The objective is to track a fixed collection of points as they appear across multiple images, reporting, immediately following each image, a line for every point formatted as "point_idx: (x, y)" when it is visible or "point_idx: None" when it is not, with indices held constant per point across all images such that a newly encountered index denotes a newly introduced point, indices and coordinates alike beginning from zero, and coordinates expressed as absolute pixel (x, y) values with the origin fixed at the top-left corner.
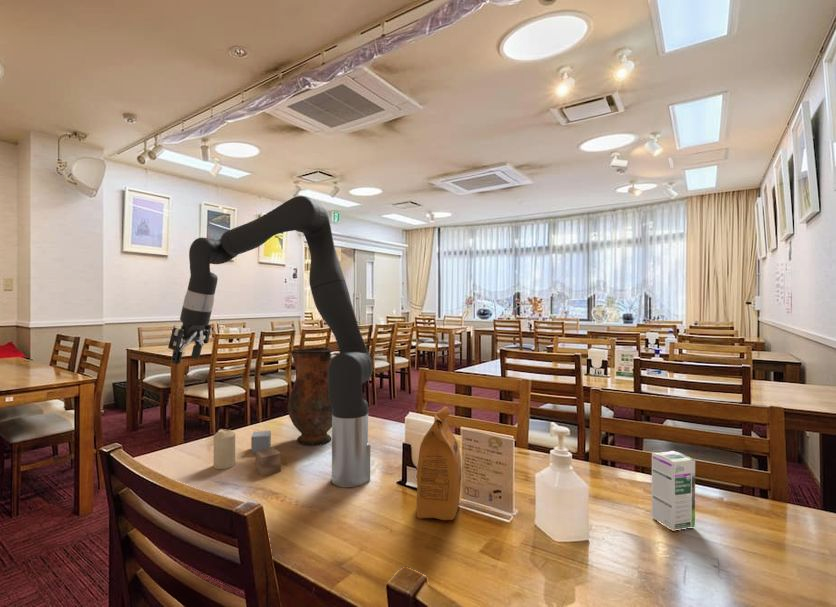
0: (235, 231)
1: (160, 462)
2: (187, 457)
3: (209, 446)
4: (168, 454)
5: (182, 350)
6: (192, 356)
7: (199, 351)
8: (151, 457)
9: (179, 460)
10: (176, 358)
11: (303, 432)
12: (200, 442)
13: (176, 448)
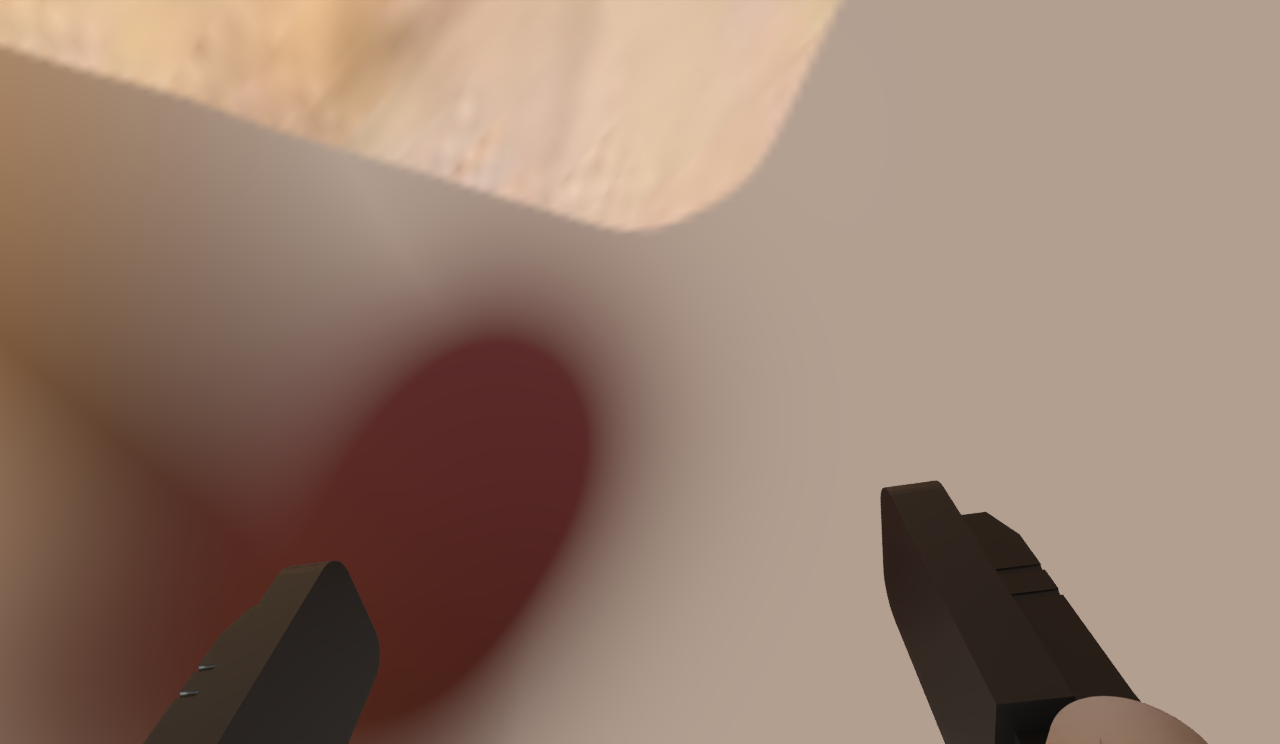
0: None
1: (742, 105)
2: (633, 9)
3: (430, 26)
4: (632, 162)
5: (1104, 736)
6: (370, 651)
7: (251, 683)
8: (695, 210)
9: (688, 18)
10: (1050, 581)
11: None
12: (411, 142)
13: (546, 195)
